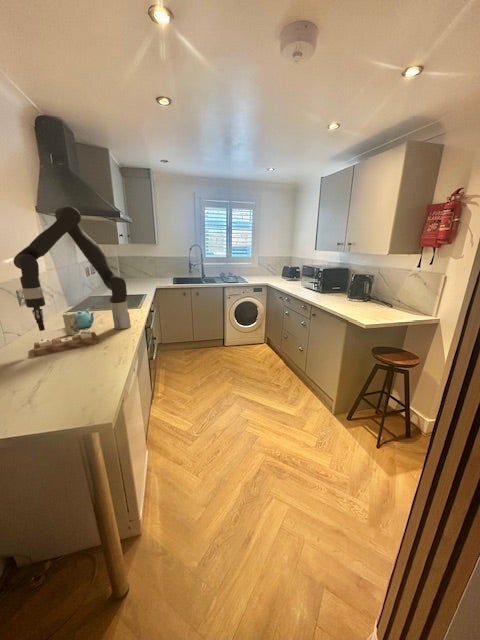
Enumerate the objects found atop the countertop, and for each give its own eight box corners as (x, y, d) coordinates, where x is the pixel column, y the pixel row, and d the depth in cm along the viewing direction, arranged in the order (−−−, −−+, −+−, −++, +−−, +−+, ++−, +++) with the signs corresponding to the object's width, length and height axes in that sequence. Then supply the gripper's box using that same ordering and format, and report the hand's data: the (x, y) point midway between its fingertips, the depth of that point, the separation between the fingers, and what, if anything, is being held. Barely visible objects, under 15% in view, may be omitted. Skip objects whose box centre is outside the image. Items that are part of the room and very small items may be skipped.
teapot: (71, 331, 157) (68, 316, 154) (66, 325, 168) (63, 311, 164) (97, 326, 167) (94, 311, 164) (91, 321, 177) (88, 307, 174)
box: (72, 335, 150) (68, 315, 147) (66, 335, 151) (61, 314, 147) (79, 332, 155) (75, 312, 152) (73, 332, 156) (69, 312, 152)
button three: (90, 336, 145) (89, 330, 144) (92, 339, 141) (91, 332, 140) (80, 338, 142) (79, 332, 141) (81, 341, 138) (80, 334, 137)
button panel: (95, 336, 149) (94, 331, 148) (98, 342, 140) (97, 337, 139) (35, 348, 133) (34, 343, 132) (35, 356, 124) (33, 350, 123)
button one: (72, 342, 140) (71, 336, 139) (73, 345, 136) (72, 339, 135) (62, 345, 137) (60, 338, 136) (62, 348, 133) (61, 341, 132)
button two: (52, 344, 134) (50, 337, 133) (52, 347, 131) (51, 340, 129) (40, 346, 131) (38, 339, 130) (40, 349, 128) (38, 342, 126)
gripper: (43, 298, 120) (51, 332, 125) (43, 293, 130) (50, 325, 135) (23, 300, 116) (32, 335, 121) (24, 295, 126) (33, 328, 131)
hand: (42, 330), depth 128 cm, fingers closed
